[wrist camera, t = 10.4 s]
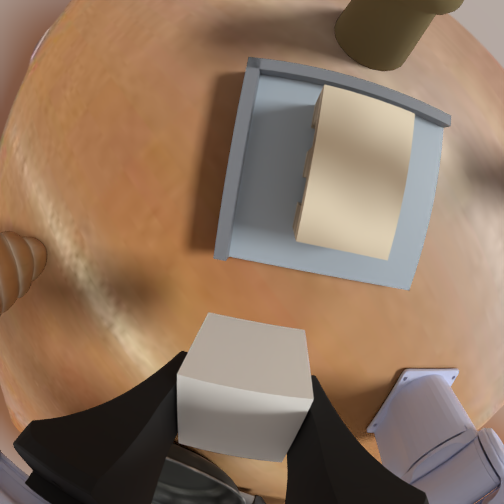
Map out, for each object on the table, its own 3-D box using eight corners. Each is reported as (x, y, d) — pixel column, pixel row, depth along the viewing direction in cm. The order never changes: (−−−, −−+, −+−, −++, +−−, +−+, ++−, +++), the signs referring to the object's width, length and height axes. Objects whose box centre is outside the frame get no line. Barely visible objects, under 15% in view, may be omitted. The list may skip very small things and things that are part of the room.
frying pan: (96, 454, 33) (82, 478, 26) (92, 383, 26) (64, 417, 19) (304, 518, 33) (303, 542, 27) (387, 471, 26) (394, 503, 20)
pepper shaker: (325, 9, 14) (350, -85, 3) (394, 15, 13) (448, -56, 2) (344, 69, 15) (400, -19, 4) (415, 74, 14) (500, 19, 4)
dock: (401, 282, 19) (414, 295, 16) (221, 248, 19) (213, 258, 17) (434, 121, 15) (451, 115, 13) (252, 71, 16) (248, 57, 13)
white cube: (282, 396, 12) (281, 462, 8) (201, 381, 12) (178, 443, 8) (304, 330, 11) (313, 399, 7) (208, 312, 11) (177, 374, 7)
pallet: (365, 242, 17) (387, 260, 13) (292, 227, 17) (296, 241, 13) (387, 125, 14) (414, 113, 11) (314, 104, 15) (324, 84, 11)
